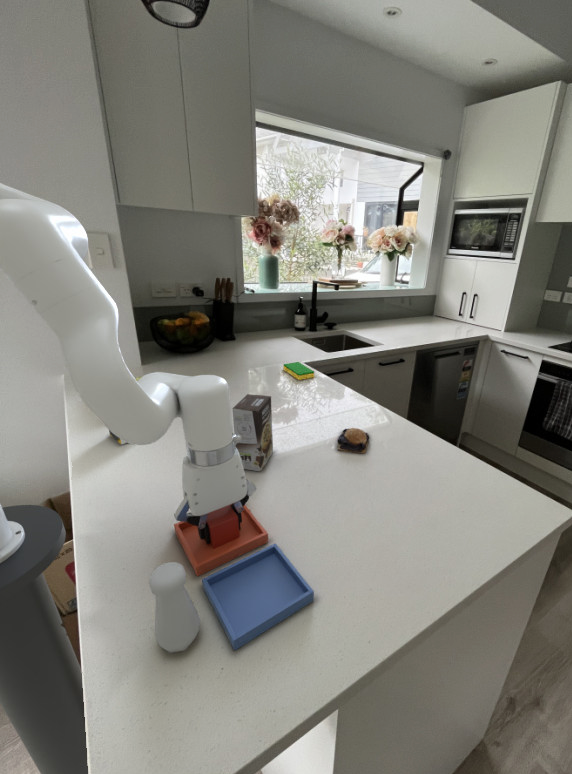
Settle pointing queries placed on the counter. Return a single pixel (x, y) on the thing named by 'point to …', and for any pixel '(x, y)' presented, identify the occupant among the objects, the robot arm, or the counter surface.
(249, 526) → the red tray
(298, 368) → the dish sponge
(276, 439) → the counter surface
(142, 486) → the counter surface
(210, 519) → the red block
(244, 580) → the blue tray
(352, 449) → the burger
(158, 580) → the salt shaker
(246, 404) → the coffee box
